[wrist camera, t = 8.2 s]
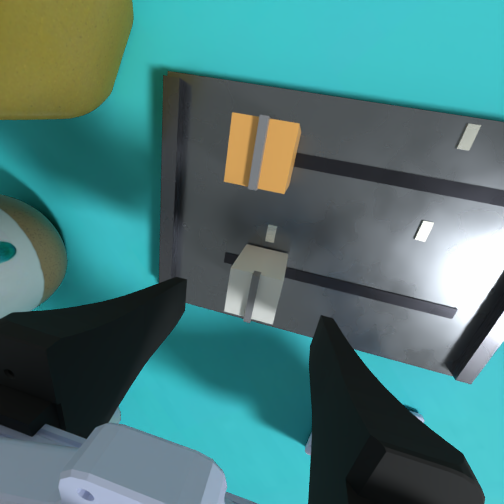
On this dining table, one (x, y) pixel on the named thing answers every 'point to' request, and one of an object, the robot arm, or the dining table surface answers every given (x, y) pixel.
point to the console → (346, 219)
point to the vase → (28, 257)
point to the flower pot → (60, 55)
